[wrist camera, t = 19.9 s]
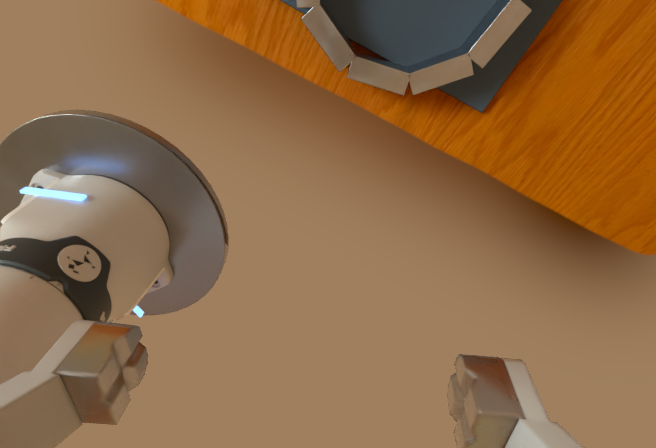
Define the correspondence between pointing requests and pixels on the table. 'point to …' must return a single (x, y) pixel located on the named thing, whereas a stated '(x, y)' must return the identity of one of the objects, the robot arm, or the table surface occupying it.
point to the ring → (426, 72)
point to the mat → (437, 36)
